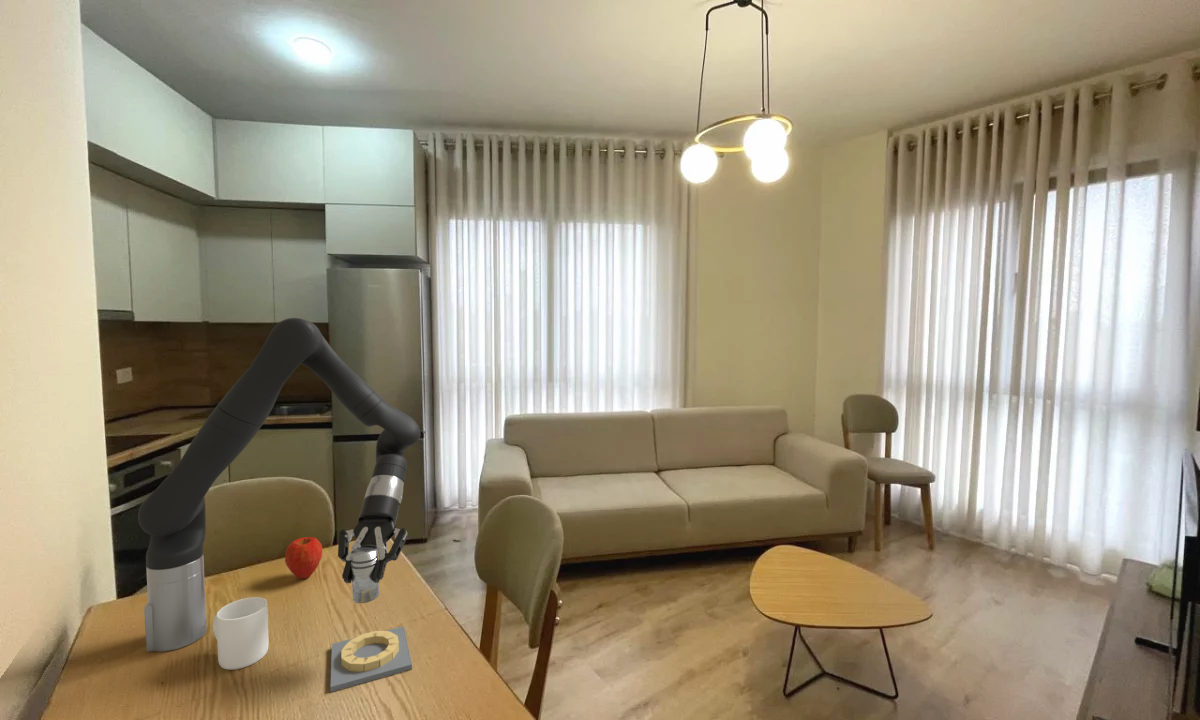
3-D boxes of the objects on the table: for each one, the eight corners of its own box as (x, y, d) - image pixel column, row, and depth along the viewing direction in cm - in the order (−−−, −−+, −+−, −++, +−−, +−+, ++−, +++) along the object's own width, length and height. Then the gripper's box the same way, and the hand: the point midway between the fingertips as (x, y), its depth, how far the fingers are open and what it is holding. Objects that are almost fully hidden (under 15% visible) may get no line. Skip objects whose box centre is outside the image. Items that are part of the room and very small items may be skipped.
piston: (353, 605, 98) (351, 558, 97) (352, 594, 102) (350, 548, 101) (380, 599, 100) (378, 553, 99) (378, 587, 104) (376, 543, 104)
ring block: (330, 692, 92) (330, 679, 91) (332, 648, 104) (331, 636, 104) (411, 669, 98) (411, 656, 98) (404, 630, 110) (403, 619, 110)
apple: (291, 589, 127) (290, 548, 126) (281, 578, 132) (279, 538, 132) (327, 577, 133) (326, 538, 132) (316, 567, 139) (315, 529, 138)
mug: (194, 661, 99) (192, 611, 99) (236, 637, 107) (234, 590, 107) (238, 675, 96) (236, 623, 95) (278, 649, 104) (277, 600, 103)
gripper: (343, 493, 107) (316, 576, 96) (411, 492, 108) (393, 574, 96) (354, 508, 112) (331, 588, 101) (419, 507, 113) (403, 586, 102)
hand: (361, 581), depth 99 cm, fingers closed on piston, 5 cm apart
